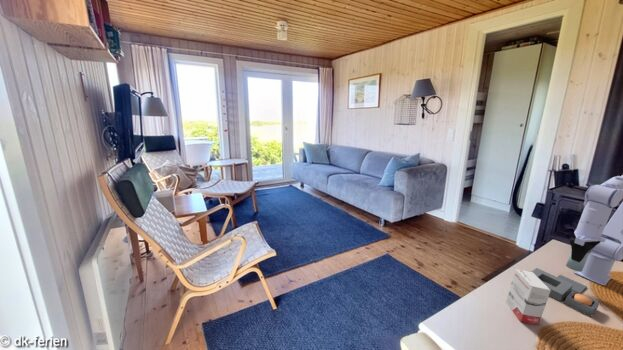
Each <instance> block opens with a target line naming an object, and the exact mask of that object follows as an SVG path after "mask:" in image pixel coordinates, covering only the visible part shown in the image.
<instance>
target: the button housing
mask: <svg viewBox="0 0 623 350" xmlns="http://www.w3.org/2000/svg"><path fill="white" fill-rule="evenodd" d="M575 294H581V293H578V292H576V291H574V290H573V291H572V290H571V291H570V292H569V293H568V294H567V295H566V296H565V297H566V298H565V300H564V305H567V306H569V307H571V308H572V309H574V310H576V311H578V312H581V313H583V314H584V315H586V316H588V317H590V318H591V317H592V316H593V315H594V313H595V312H596V311H597V309H598V308H599V306H600V302H599V301H597V300H595V299H592V298H590V297H588V296H587V297H588V298H590V299H591V300H592V301H593V302H592V304H591V307H589V306H587V305H585V304H583V303H581V302H579V301H577V300H575V299H574V296H575Z"/></svg>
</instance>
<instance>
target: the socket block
mask: <svg viewBox="0 0 623 350" xmlns="http://www.w3.org/2000/svg"><path fill="white" fill-rule="evenodd" d="M530 272H533V273H534V274H535V275H536V276H537V277H538V278H539V279H540V280H541V281H542V282H543V283H544V284H545V285H546V286H547V287H548V288H549V289H550V290H551V291H550V294H549V297H551V298H553V299H555V300H557V301H559V302H561V301H562V300H563V299H564V298H565V297H567V296H568V295H569V294H570V293H571V292H572V290H571V289H572V287H573V284H571V283H569V282H567V281H565V280H562V279H560V278H558V276H555V275H554V274H551V273H549V272H547V271H544V270H542V269H540V268H538V267H536V268H534V269H533V270H531V271H530Z"/></svg>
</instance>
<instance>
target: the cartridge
mask: <svg viewBox="0 0 623 350" xmlns="http://www.w3.org/2000/svg"><path fill="white" fill-rule="evenodd" d="M591 251H592V249H591V250H589V251H588V252H587V254H586V255H585V256H584V258H583V259H582V261H580V262H577V261H574V260H572V259H571V252H572V250H571V252H570V254H569V256H568V259H567V262H566V264H565V266H566V267H567V268H568V269H571V270H573V271H578V272H582V270H583V268H584V266H585V263H586V261H587V258H588V256H589V254H590V253H591Z"/></svg>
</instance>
